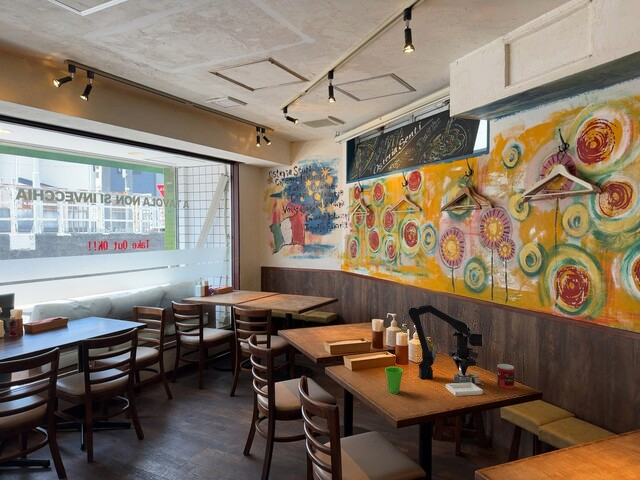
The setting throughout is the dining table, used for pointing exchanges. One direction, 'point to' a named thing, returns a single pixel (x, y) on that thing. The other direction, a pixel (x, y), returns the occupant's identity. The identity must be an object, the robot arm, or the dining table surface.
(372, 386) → the dining table surface
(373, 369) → the dining table surface
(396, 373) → the cup
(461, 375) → the pin
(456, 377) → the plate
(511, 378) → the canned food
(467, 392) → the tray
